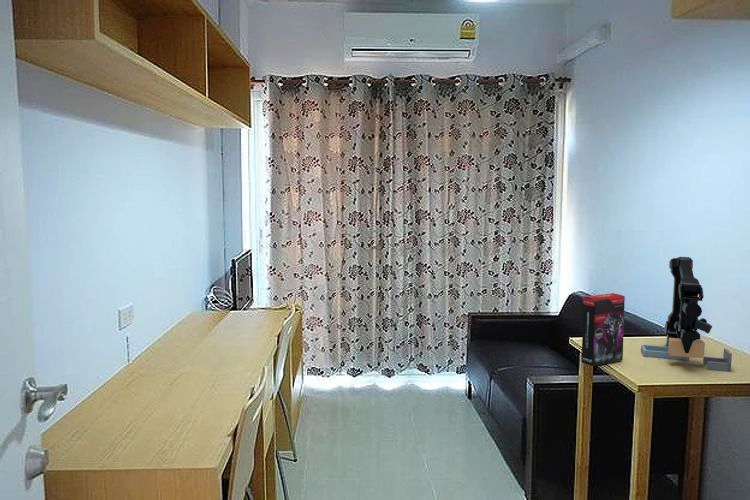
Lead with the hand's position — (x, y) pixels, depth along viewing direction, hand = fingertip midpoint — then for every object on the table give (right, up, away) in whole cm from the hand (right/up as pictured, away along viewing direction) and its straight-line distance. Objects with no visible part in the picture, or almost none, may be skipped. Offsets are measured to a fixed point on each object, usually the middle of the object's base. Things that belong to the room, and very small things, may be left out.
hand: (685, 351), depth 240 cm
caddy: (0, -2, 0) cm, 2 cm away
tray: (-2, -4, +14) cm, 14 cm away
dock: (+11, -6, -3) cm, 13 cm away
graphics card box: (-32, -5, +3) cm, 33 cm away
